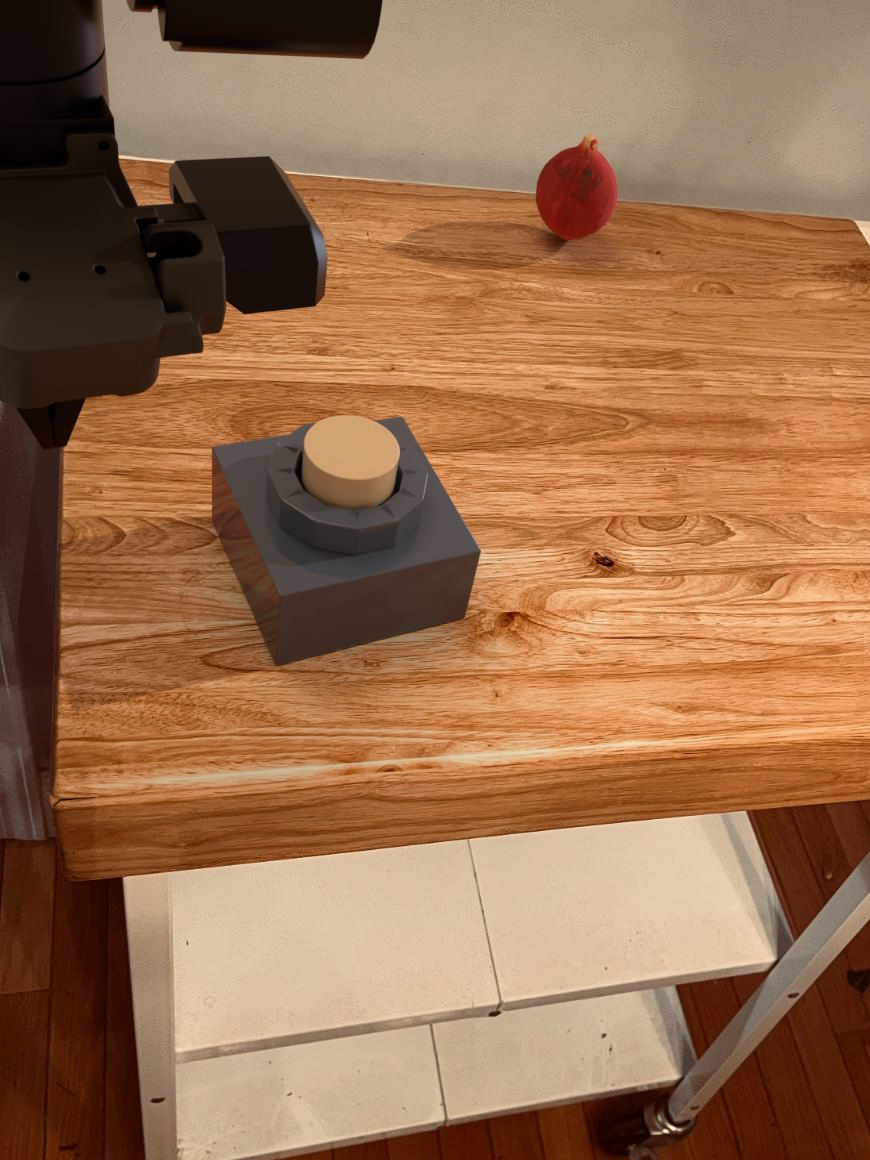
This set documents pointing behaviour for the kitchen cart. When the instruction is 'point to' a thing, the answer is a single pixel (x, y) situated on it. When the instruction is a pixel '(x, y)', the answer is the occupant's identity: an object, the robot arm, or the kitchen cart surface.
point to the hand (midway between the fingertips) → (52, 441)
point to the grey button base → (339, 549)
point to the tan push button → (349, 462)
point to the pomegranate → (577, 191)
